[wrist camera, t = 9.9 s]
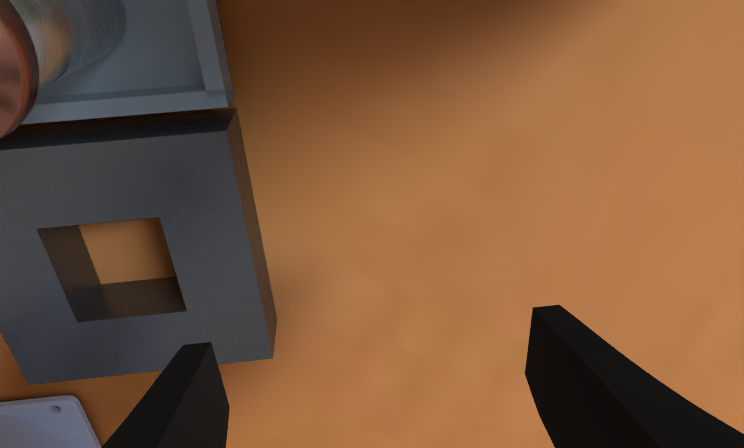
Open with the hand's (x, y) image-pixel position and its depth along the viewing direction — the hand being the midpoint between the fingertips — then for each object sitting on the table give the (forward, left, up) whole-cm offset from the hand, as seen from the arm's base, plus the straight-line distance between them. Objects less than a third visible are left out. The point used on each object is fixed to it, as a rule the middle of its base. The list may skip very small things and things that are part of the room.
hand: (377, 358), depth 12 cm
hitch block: (-9, -2, -10) cm, 14 cm away
